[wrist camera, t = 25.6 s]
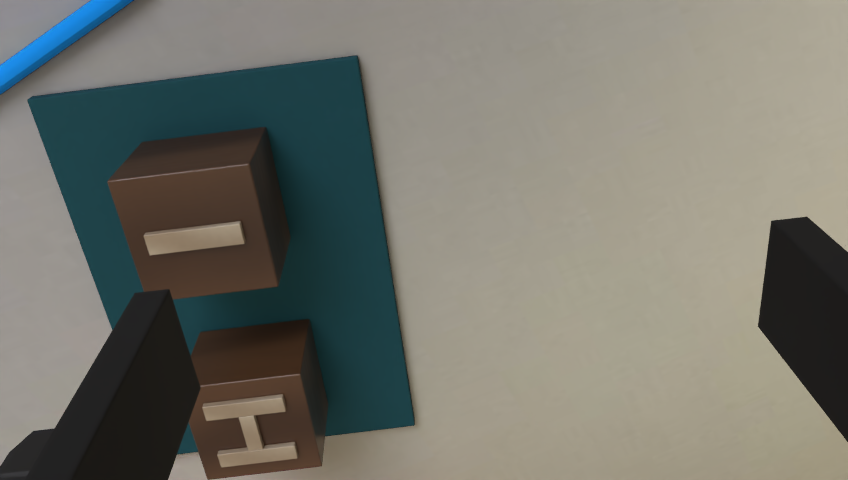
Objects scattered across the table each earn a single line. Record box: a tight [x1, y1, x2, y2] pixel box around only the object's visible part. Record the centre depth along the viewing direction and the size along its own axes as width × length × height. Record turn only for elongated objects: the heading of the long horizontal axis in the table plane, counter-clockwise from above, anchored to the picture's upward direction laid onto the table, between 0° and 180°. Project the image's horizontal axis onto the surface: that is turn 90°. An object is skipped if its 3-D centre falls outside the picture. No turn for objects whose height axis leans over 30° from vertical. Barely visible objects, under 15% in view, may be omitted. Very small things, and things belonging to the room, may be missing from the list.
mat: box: [28, 56, 415, 454], centre depth 35 cm, size 20×14×1 cm
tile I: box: [107, 127, 291, 300], centre depth 31 cm, size 6×6×5 cm
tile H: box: [189, 319, 328, 480], centre depth 35 cm, size 6×6×5 cm
